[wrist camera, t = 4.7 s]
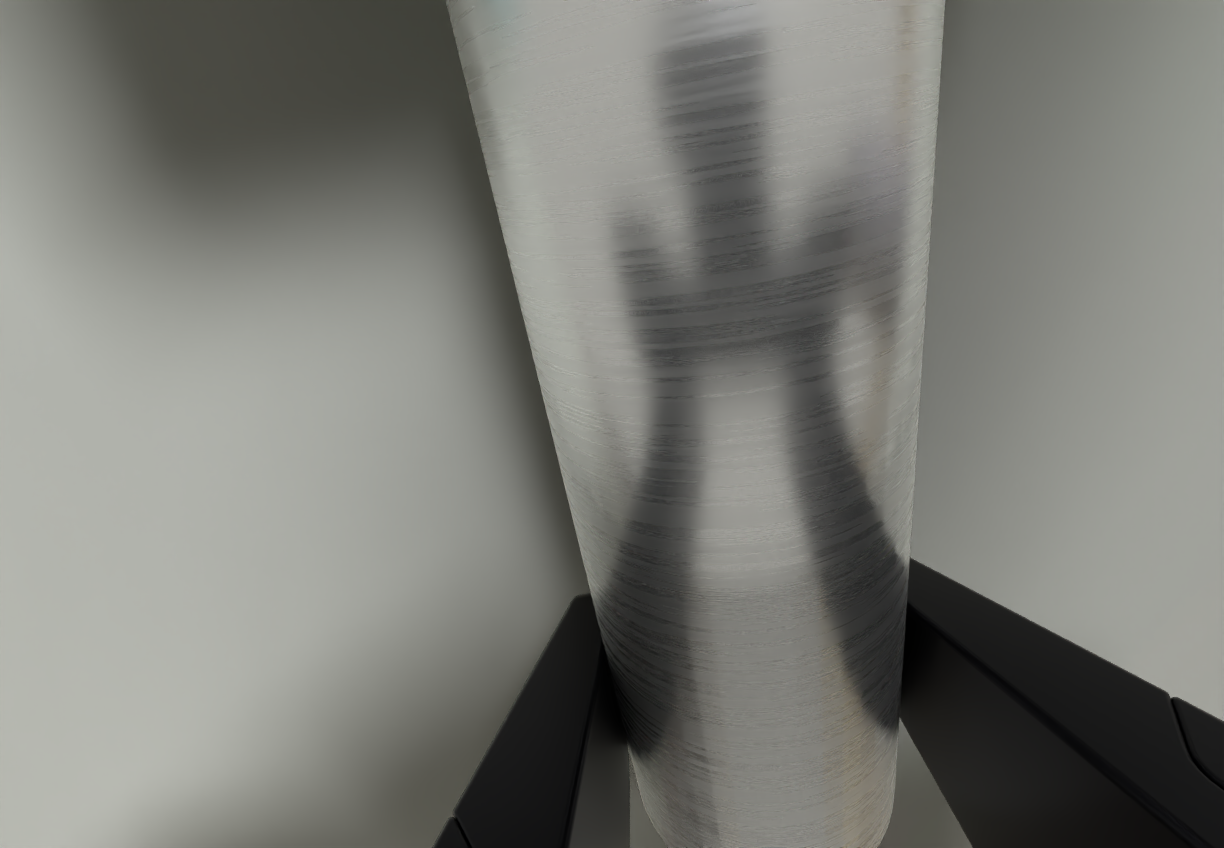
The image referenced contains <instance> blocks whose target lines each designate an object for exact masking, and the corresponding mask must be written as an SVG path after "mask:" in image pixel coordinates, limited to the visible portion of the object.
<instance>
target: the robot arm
mask: <svg viewBox="0 0 1224 848" xmlns="http://www.w3.org/2000/svg"><path fill="white" fill-rule="evenodd" d="M900 718H901V720H902V722H903V724H904V726H905V728H906V729H907V731H908V733H909V735H910V737H911V739H912V740H913V742H914V744H915V746H916V747H917V749H918V751H919V753H920V754H921V756H922V758H923V760H924V762H925V763H926V765H927V767H928V769H929V770H930V772H931V774H932V776H933V778H934V779H935V781H936V783H937V785H938V786H939V788H940V790H941V792H942V794H943V795H944V797H945V799H946V801H947V802H948V804H949V806H950V808H951V809H952V811H953V813H954V815H955V817H956V818H957V820H958V822H959V824H960V825H961V827H962V829H963V831H964V833H965V834H966V836H967V838H968V840H969V841H970V843H971V845H972V847H973V848H1224V721H1222V720H1220V719H1218V718H1216V717H1215V716H1213V715H1211V714H1209V713H1207V712H1205V711H1203V710H1201V709H1199V708H1197V707H1195V706H1193V705H1192V704H1190V703H1188V702H1186V701H1184V700H1182V699H1180V698H1178V697H1173V698H1171V699H1170V696H1169V694H1168V693H1167V692H1166V691H1164V690H1162V689H1160V688H1159V687H1157V686H1155V685H1153V684H1151V683H1149V682H1147V681H1145V680H1143V679H1141V678H1139V677H1138V676H1136V675H1134V674H1132V673H1130V672H1128V671H1126V670H1124V669H1122V668H1120V667H1118V666H1116V665H1115V664H1113V663H1111V662H1109V661H1107V660H1105V659H1103V658H1101V657H1099V656H1097V655H1095V654H1094V653H1092V652H1090V651H1088V650H1086V649H1084V648H1082V647H1080V646H1078V645H1076V644H1074V643H1072V642H1071V641H1069V640H1067V639H1065V638H1063V637H1061V636H1059V635H1057V634H1055V633H1053V632H1051V631H1050V630H1048V629H1046V628H1044V627H1042V626H1040V625H1038V624H1036V623H1034V622H1032V621H1030V620H1028V619H1027V618H1025V617H1023V616H1021V615H1019V614H1017V613H1015V612H1013V611H1011V610H1009V609H1007V608H1006V607H1004V606H1002V605H1000V604H998V603H996V602H994V601H992V600H990V599H988V598H986V597H984V596H983V595H981V594H979V593H977V592H975V591H973V590H971V589H969V588H967V587H965V586H963V585H962V584H960V583H958V582H956V581H954V580H952V579H950V578H948V577H946V576H944V575H942V574H941V573H939V572H937V571H935V570H933V569H931V568H929V567H927V566H925V565H923V564H921V563H919V562H918V561H916V560H914V559H912V558H910V560H909V576H908V592H907V607H906V623H905V639H904V654H903V670H902V686H901V701H900ZM453 815H454V817H450V818H449V819H448V820H447V822H446V824H445V825H444V827H443V829H442V831H441V833H440V834H439V836H438V838H437V840H436V841H435V843H434V845H433V847H432V848H630V778H629V754H628V743H627V739H626V735H625V730H624V726H623V722H622V718H621V714H620V710H619V706H618V702H617V698H616V694H615V690H614V686H613V681H612V677H611V673H610V669H609V665H608V661H607V657H606V653H605V649H604V645H603V641H602V637H601V633H600V628H599V624H598V620H597V616H596V612H595V608H594V604H593V600H592V596H591V593H588V594H582V595H578V596H575V597H574V598H573V600H572V601H571V603H570V605H569V607H568V608H567V610H566V612H565V614H564V615H563V617H562V619H561V621H560V623H559V624H558V626H557V628H556V630H555V631H554V633H553V635H552V637H551V638H550V640H549V642H548V644H547V646H546V647H545V649H544V651H543V653H542V654H541V656H540V658H539V660H538V661H537V663H536V665H535V667H534V669H533V670H532V672H531V674H530V676H529V677H528V679H527V681H526V683H525V685H524V686H523V688H522V690H521V692H520V693H519V695H518V697H517V699H516V700H515V702H514V704H513V706H512V708H511V709H510V711H509V713H508V715H507V716H506V718H505V720H504V722H503V723H502V725H501V727H500V729H499V731H498V732H497V734H496V736H495V738H494V739H493V741H492V743H491V745H490V746H489V748H488V750H487V752H486V754H485V755H484V757H483V759H482V761H481V762H480V764H479V766H478V768H477V769H476V771H475V773H474V775H473V777H472V778H471V780H470V782H469V784H468V785H467V787H466V789H465V791H464V793H463V794H462V796H461V798H460V800H459V801H458V803H457V805H456V807H455V808H454V810H453Z"/></svg>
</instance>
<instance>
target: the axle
mask: <svg viewBox="0 0 1224 848" xmlns="http://www.w3.org/2000/svg"><path fill="white" fill-rule="evenodd" d="M446 4H447V8H448V12H449V16H450V20H451V25H452V29H453V33H454V37H455V41H456V45H457V49H458V53H459V57H460V61H461V65H462V69H463V73H464V78H465V82H466V86H467V90H468V94H469V98H470V102H471V106H472V110H473V114H474V118H475V122H476V127H477V131H478V135H479V139H480V143H481V147H482V151H483V155H484V159H485V163H486V167H487V171H488V176H489V180H490V184H491V188H492V192H493V196H494V200H495V204H496V208H497V212H498V216H499V220H500V224H501V229H502V233H503V237H504V241H505V245H506V249H507V253H508V257H509V261H510V265H511V269H512V273H513V278H514V282H515V286H516V290H517V294H518V298H519V302H520V306H521V310H522V314H523V318H524V322H525V326H526V331H527V335H528V339H529V343H530V347H531V351H532V355H533V359H534V363H535V367H536V371H537V375H538V380H539V384H540V388H541V392H542V396H543V400H544V404H545V408H546V412H547V416H548V420H549V424H550V428H551V433H552V437H553V441H554V445H555V449H556V453H557V457H558V461H559V465H560V469H561V473H562V477H563V482H564V486H565V490H566V494H567V498H568V502H569V506H570V510H571V514H572V518H573V522H574V526H575V531H576V535H577V539H578V543H579V547H580V551H581V555H582V559H583V563H584V567H585V571H586V575H587V579H588V584H589V588H590V592H591V596H592V600H593V604H594V608H595V612H596V616H597V620H598V624H599V628H600V633H601V637H602V641H603V645H604V649H605V653H606V657H607V661H608V665H609V669H610V673H611V677H612V681H613V686H614V690H615V694H616V698H617V702H618V706H619V710H620V714H621V718H622V722H623V726H624V730H625V735H626V739H627V743H628V747H629V751H630V755H631V759H632V763H633V767H634V771H635V775H636V779H637V784H638V788H639V792H640V796H641V799H642V802H643V804H644V807H645V810H646V813H647V815H648V817H649V819H650V820H651V822H652V824H653V826H654V828H655V830H656V831H657V832H658V834H659V835H660V837H661V838H662V840H663V841H664V842H665V844H666V845H667V846H668V847H669V848H877V847H878V846H879V845H880V843H881V841H882V839H883V837H884V835H885V833H886V830H887V828H888V826H889V822H890V818H891V815H892V811H893V804H894V794H895V780H896V764H897V748H898V733H899V717H900V701H901V686H902V670H903V654H904V639H905V623H906V607H907V592H908V576H909V560H910V545H911V529H912V514H913V498H914V482H915V467H916V451H917V435H918V420H919V404H920V388H921V373H922V357H923V341H924V326H925V310H926V294H927V279H928V263H929V248H930V232H931V216H932V201H933V185H934V169H935V154H936V138H937V122H938V107H939V91H940V75H941V60H942V44H943V28H944V13H945V0H446Z"/></svg>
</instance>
